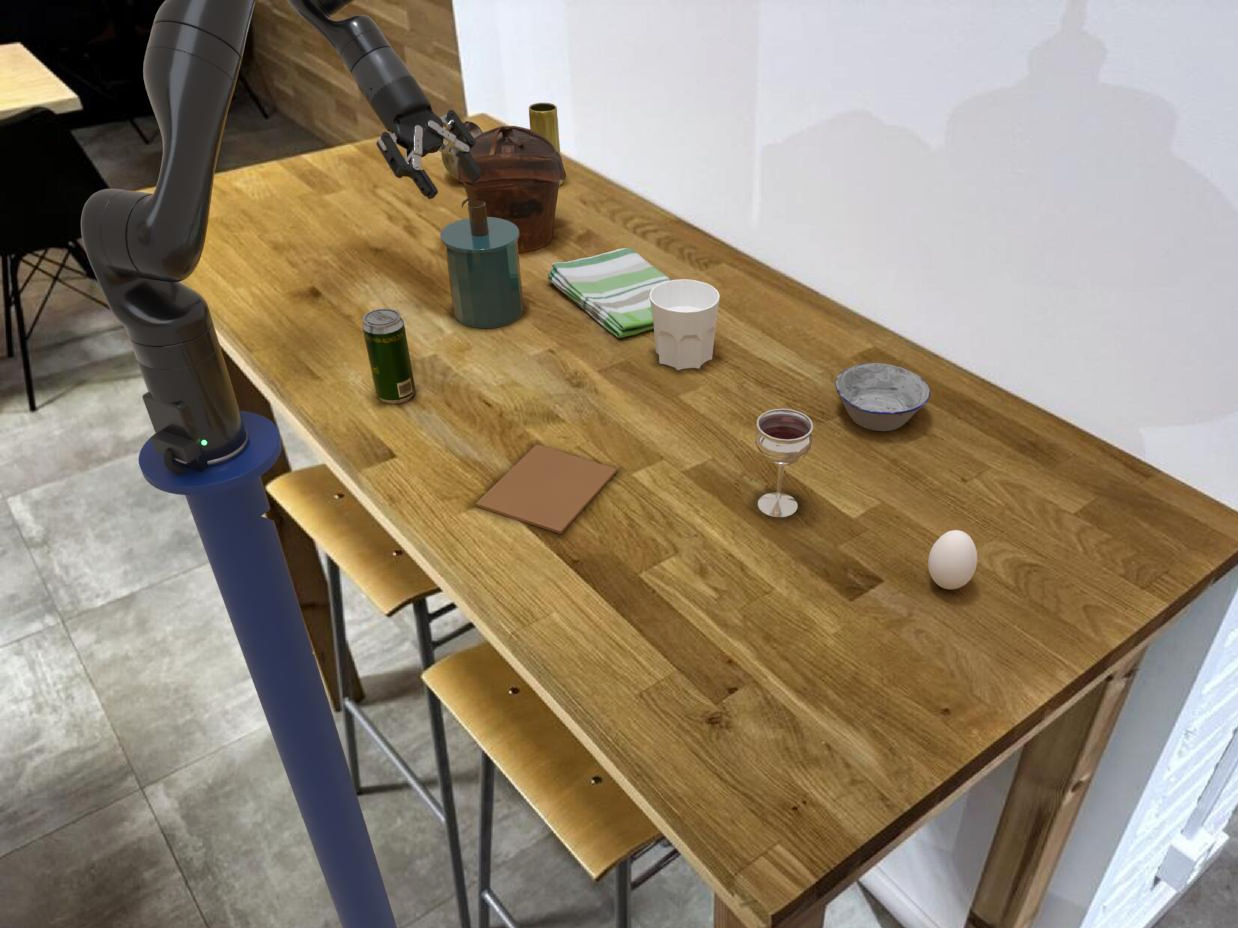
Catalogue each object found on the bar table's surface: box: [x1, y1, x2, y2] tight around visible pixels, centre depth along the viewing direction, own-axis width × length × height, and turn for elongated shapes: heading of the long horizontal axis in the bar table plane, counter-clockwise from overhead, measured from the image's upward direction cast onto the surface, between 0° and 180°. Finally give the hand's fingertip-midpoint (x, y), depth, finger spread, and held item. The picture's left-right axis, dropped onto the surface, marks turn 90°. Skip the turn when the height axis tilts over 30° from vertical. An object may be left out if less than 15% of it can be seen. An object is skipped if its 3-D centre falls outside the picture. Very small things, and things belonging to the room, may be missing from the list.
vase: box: [528, 102, 565, 187], centre depth 204 cm, size 6×6×14 cm
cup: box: [650, 278, 721, 371], centre depth 157 cm, size 10×10×10 cm
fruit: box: [440, 120, 484, 183], centre depth 205 cm, size 10×9×12 cm
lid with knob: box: [439, 200, 520, 253], centre depth 159 cm, size 12×12×6 cm
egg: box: [927, 529, 978, 590], centre depth 121 cm, size 5×5×8 cm
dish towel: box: [547, 247, 672, 339], centre depth 172 cm, size 17×23×4 cm
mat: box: [475, 444, 618, 535], centre depth 134 cm, size 14×12×1 cm
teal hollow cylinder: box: [444, 242, 524, 329], centre depth 164 cm, size 11×11×12 cm
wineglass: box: [754, 408, 814, 518], centre depth 129 cm, size 7×7×12 cm
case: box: [457, 125, 567, 253], centre depth 183 cm, size 18×20×18 cm
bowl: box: [834, 362, 931, 432], centre depth 148 cm, size 13×13×5 cm
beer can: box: [361, 308, 416, 405], centre depth 146 cm, size 5×5×12 cm
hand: (456, 187), depth 158 cm, fingers open, 8 cm apart
